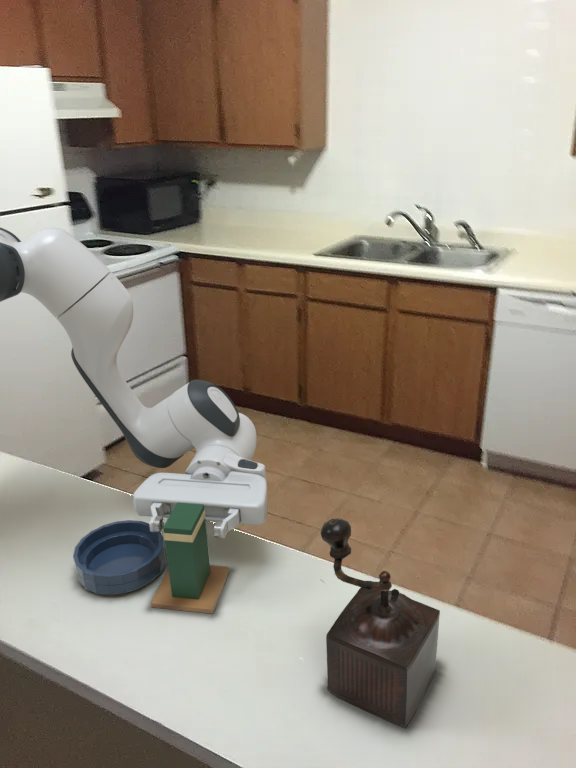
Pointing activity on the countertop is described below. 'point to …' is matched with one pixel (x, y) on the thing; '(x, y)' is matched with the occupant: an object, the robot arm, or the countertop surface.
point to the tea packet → (187, 550)
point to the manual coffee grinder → (379, 642)
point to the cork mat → (195, 605)
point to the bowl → (119, 557)
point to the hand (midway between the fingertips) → (186, 531)
